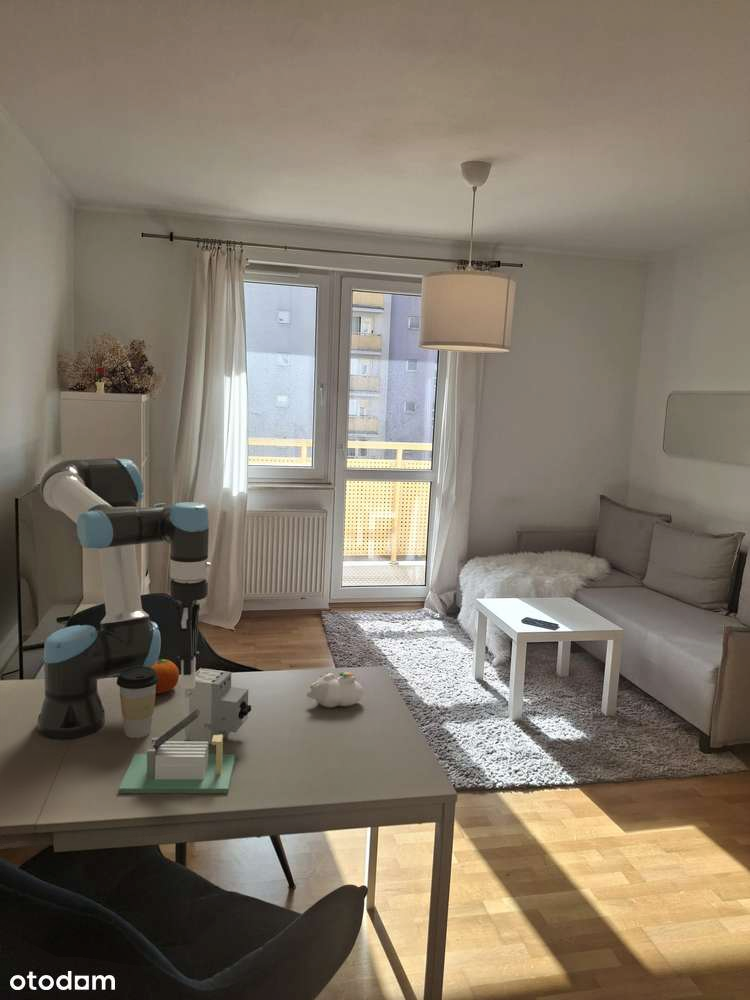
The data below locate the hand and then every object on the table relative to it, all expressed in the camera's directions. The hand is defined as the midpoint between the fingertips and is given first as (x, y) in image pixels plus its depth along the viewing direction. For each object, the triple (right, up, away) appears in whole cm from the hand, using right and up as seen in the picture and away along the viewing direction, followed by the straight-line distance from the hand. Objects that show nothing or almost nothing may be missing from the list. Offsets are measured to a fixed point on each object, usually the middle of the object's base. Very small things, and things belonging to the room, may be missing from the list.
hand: (188, 686), depth 155 cm
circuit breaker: (+2, -17, +21) cm, 27 cm away
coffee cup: (-17, -16, +21) cm, 32 cm away
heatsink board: (-3, -20, +3) cm, 20 cm away
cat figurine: (+29, -15, +41) cm, 53 cm away
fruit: (-19, -12, +45) cm, 50 cm away
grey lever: (-3, -10, +2) cm, 11 cm away
